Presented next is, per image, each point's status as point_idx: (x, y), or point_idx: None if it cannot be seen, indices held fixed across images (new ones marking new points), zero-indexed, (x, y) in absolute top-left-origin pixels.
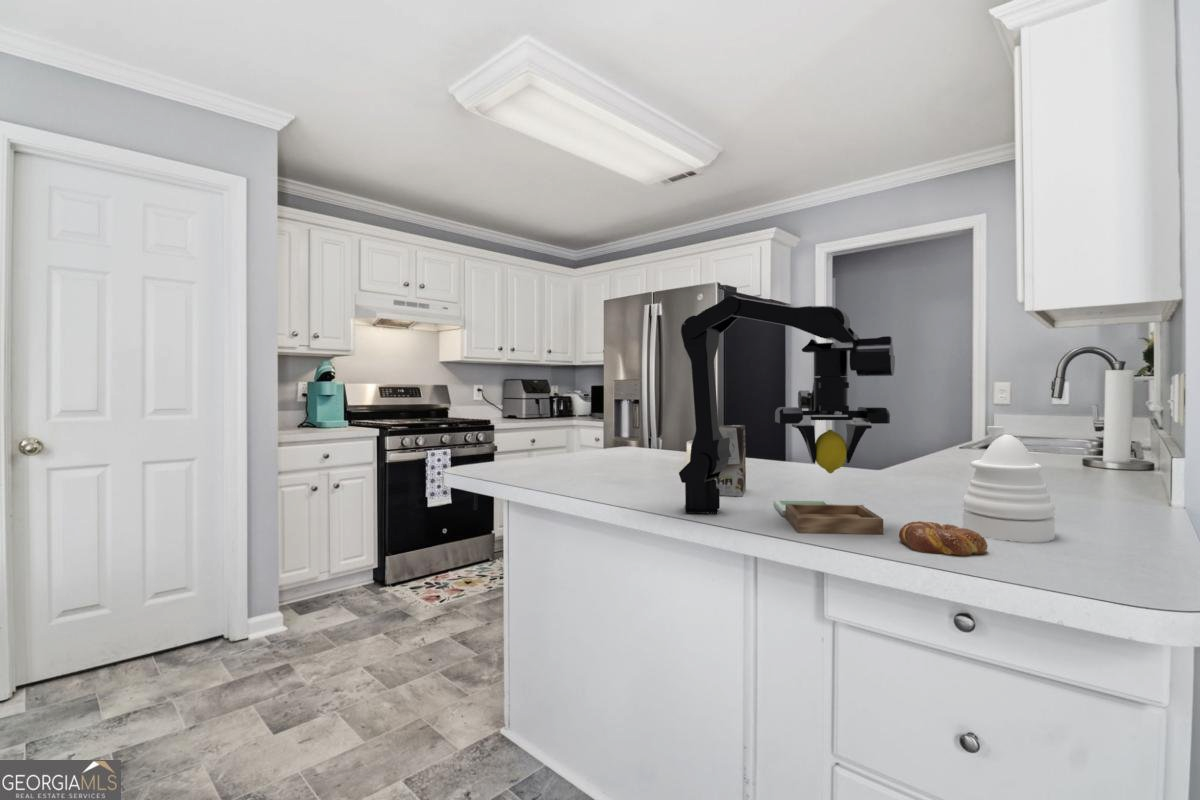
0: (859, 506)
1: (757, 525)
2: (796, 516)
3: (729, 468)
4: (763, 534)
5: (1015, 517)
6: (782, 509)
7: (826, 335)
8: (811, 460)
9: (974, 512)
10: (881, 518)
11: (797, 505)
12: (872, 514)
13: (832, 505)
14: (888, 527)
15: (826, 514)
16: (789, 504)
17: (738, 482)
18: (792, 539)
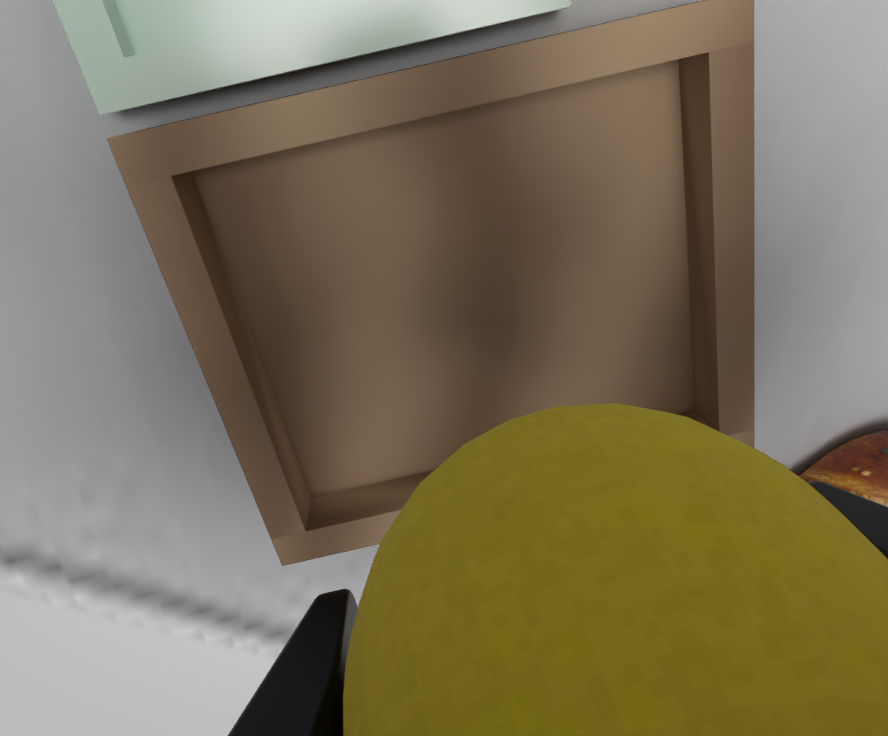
0: (718, 74)
1: (35, 420)
2: (267, 527)
3: None
4: (131, 584)
5: None
6: (86, 59)
7: None
8: (311, 616)
9: None
10: (749, 445)
11: (217, 162)
12: (730, 353)
13: (505, 94)
14: (793, 241)
15: (447, 130)
16: (145, 153)
17: None
18: (282, 620)
